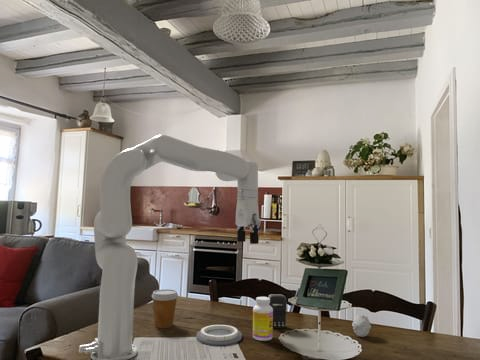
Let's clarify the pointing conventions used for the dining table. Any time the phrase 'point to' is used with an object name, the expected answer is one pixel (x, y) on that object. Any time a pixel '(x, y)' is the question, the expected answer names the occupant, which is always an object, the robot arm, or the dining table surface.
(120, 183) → the robot arm
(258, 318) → the supplement bottle
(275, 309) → the battery
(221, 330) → the round holder
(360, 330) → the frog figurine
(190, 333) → the dining table surface
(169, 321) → the disposable coffee cup
